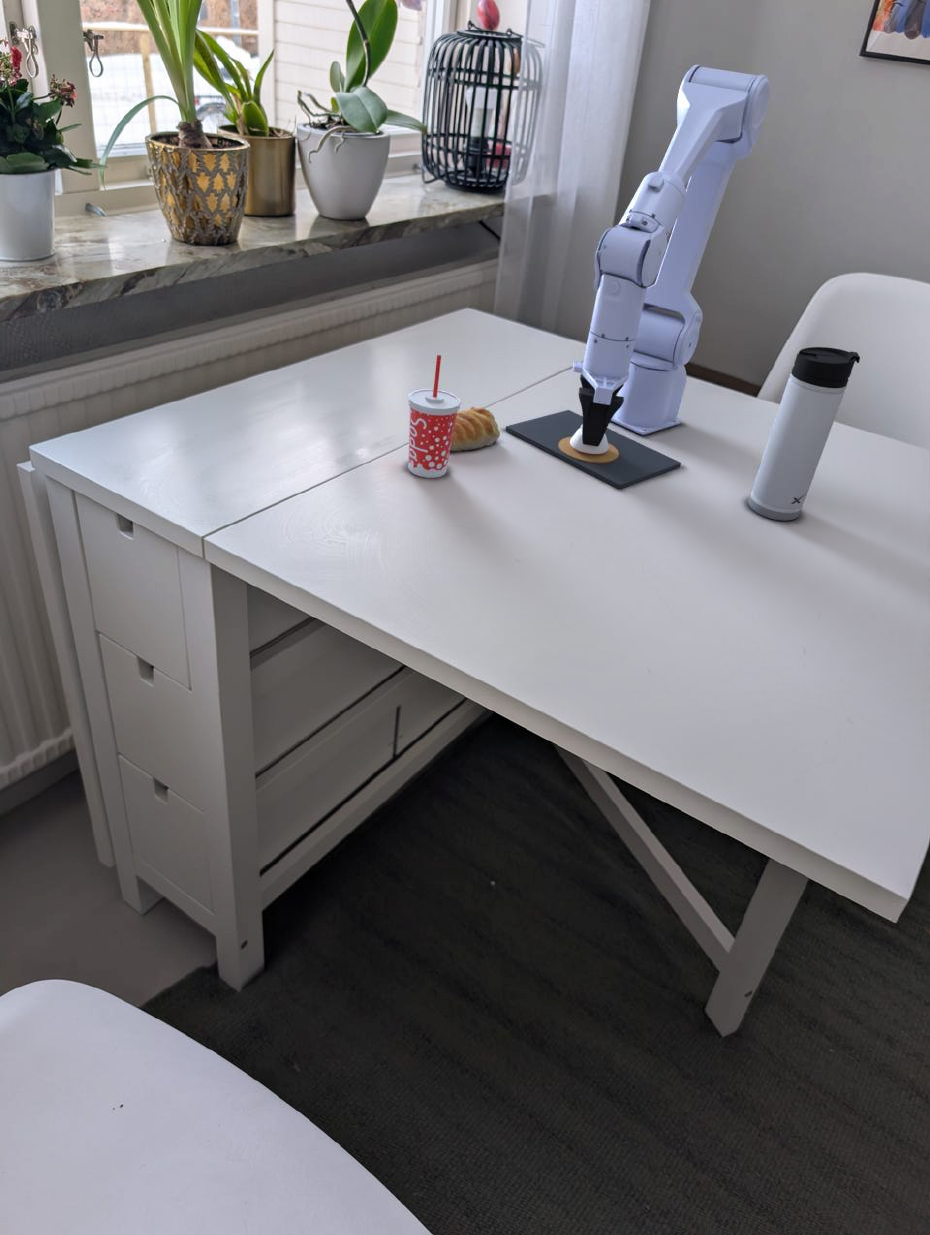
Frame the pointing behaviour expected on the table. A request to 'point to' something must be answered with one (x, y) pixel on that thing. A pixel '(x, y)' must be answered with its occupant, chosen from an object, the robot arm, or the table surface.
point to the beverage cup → (431, 428)
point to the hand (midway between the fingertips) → (590, 437)
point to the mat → (614, 466)
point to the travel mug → (801, 431)
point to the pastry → (474, 429)
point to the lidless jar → (588, 449)
